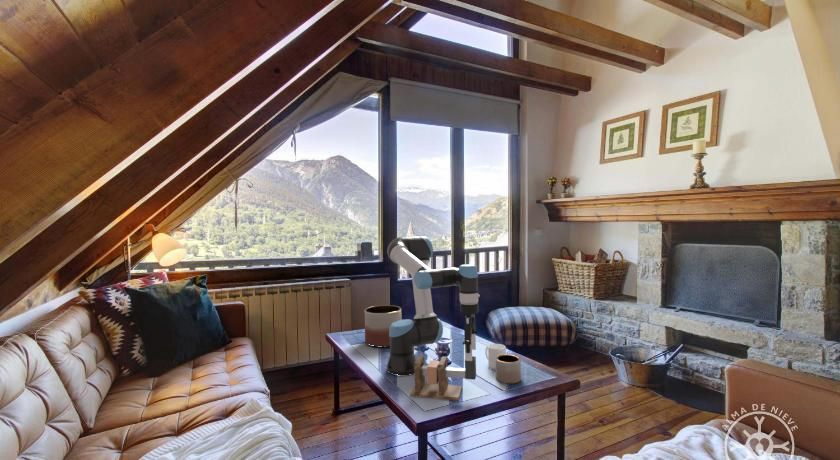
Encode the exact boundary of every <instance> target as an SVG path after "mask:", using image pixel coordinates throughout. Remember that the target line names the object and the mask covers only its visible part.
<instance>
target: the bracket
mask: <svg viewBox="0 0 840 460" xmlns="http://www.w3.org/2000/svg"><path fill="white" fill-rule="evenodd" d="M421 365H423V366H426V365H425V355H422V354H419V355H418V357H417V358H416V361H415V363H414V372H415V373H414V386H413V388H412V390H410V393H409V397H411V396H417V397H416V398H424V399H425V398H427V399H436V400H437V399H438V400H446V401H447V400H448V401H449V400H450V401H459V400H460V396H461V394H462V389H463V386H462V385H453V384H449V380H448V378H449V377H445V368H444V367H448V356H442V357H441V358H440V362H439V364H438V379H439V381H438V383H437V384H427V382H426V376H425V375H421Z"/></svg>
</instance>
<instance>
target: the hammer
mask: <svg viewBox="0 0 840 460" xmlns="http://www.w3.org/2000/svg"><path fill="white" fill-rule="evenodd" d="M427 366H428V365H425V366H423V365H421V375H425V377H427ZM444 368H445V377H448V378H452V379H453V378H455V379H457V378H458V379H465V380H476V378H477V357H476V356H473V355H472V361H465V360H464V367H450V366H447V367H444ZM437 376H438V369H437Z"/></svg>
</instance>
